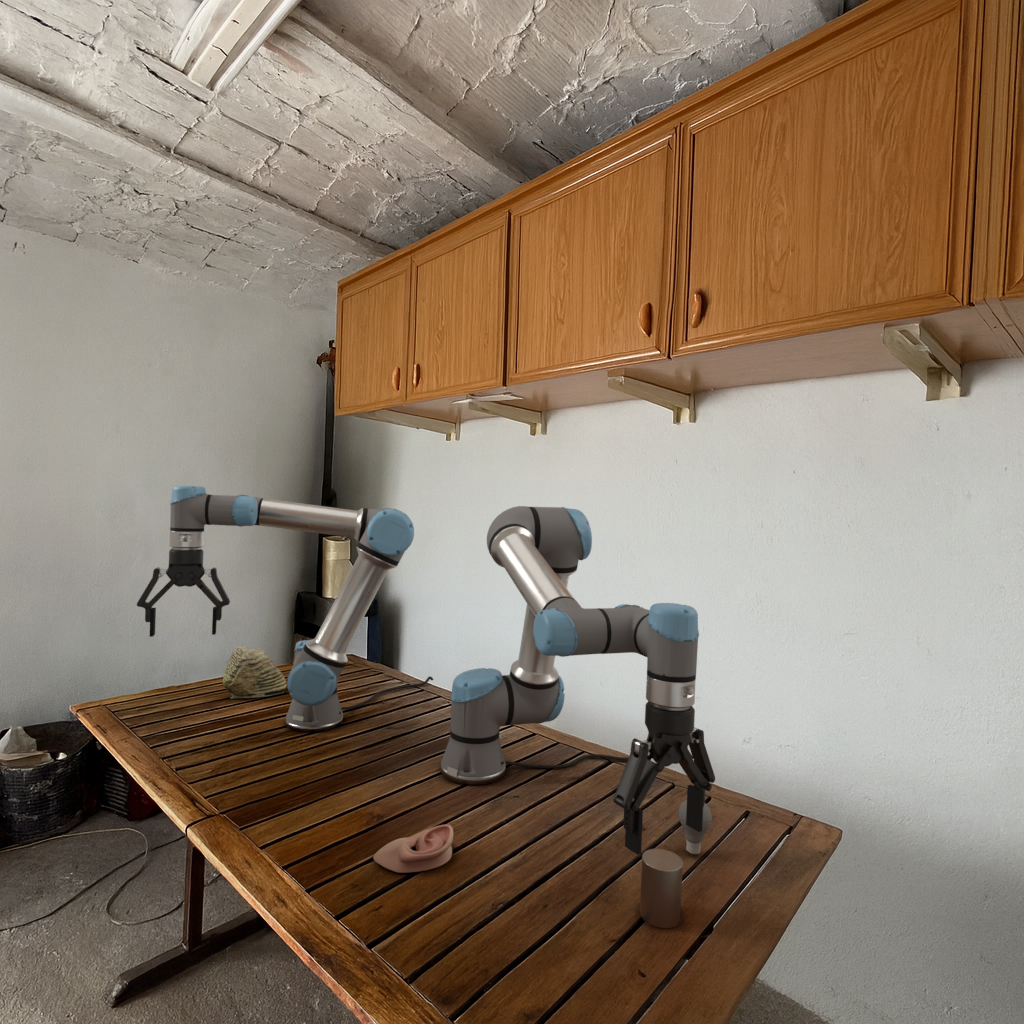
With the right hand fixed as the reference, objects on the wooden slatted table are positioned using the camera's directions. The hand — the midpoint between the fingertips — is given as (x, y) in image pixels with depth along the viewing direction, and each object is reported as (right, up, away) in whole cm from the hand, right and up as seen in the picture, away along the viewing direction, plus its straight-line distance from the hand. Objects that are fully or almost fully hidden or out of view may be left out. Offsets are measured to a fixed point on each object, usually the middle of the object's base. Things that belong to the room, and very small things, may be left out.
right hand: (664, 838), depth 99 cm
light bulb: (+10, -13, +19) cm, 25 cm away
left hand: (-105, +21, +56) cm, 121 cm away
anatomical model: (-41, -10, +14) cm, 45 cm away
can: (-1, -12, 0) cm, 12 cm away
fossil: (-105, -6, +99) cm, 144 cm away
